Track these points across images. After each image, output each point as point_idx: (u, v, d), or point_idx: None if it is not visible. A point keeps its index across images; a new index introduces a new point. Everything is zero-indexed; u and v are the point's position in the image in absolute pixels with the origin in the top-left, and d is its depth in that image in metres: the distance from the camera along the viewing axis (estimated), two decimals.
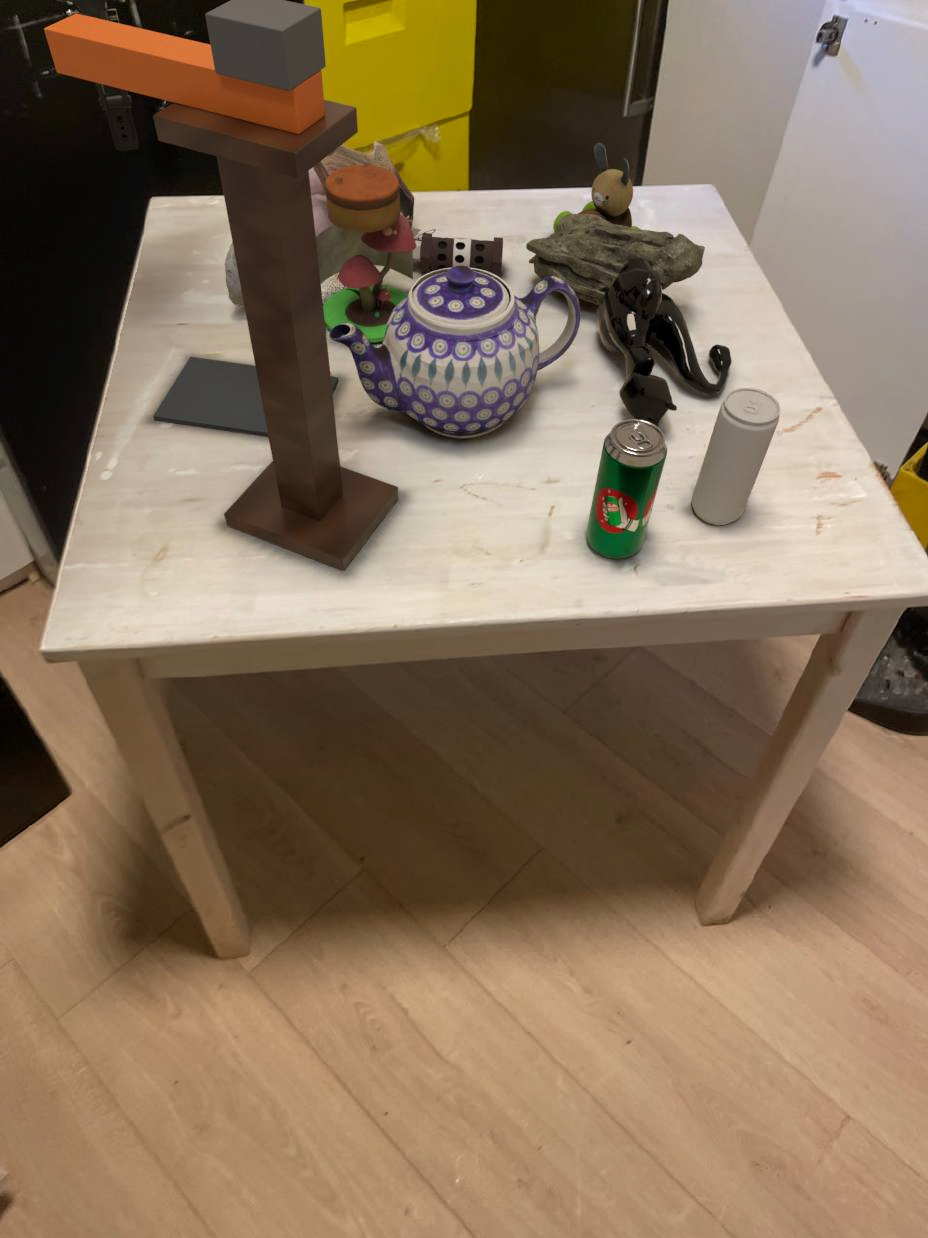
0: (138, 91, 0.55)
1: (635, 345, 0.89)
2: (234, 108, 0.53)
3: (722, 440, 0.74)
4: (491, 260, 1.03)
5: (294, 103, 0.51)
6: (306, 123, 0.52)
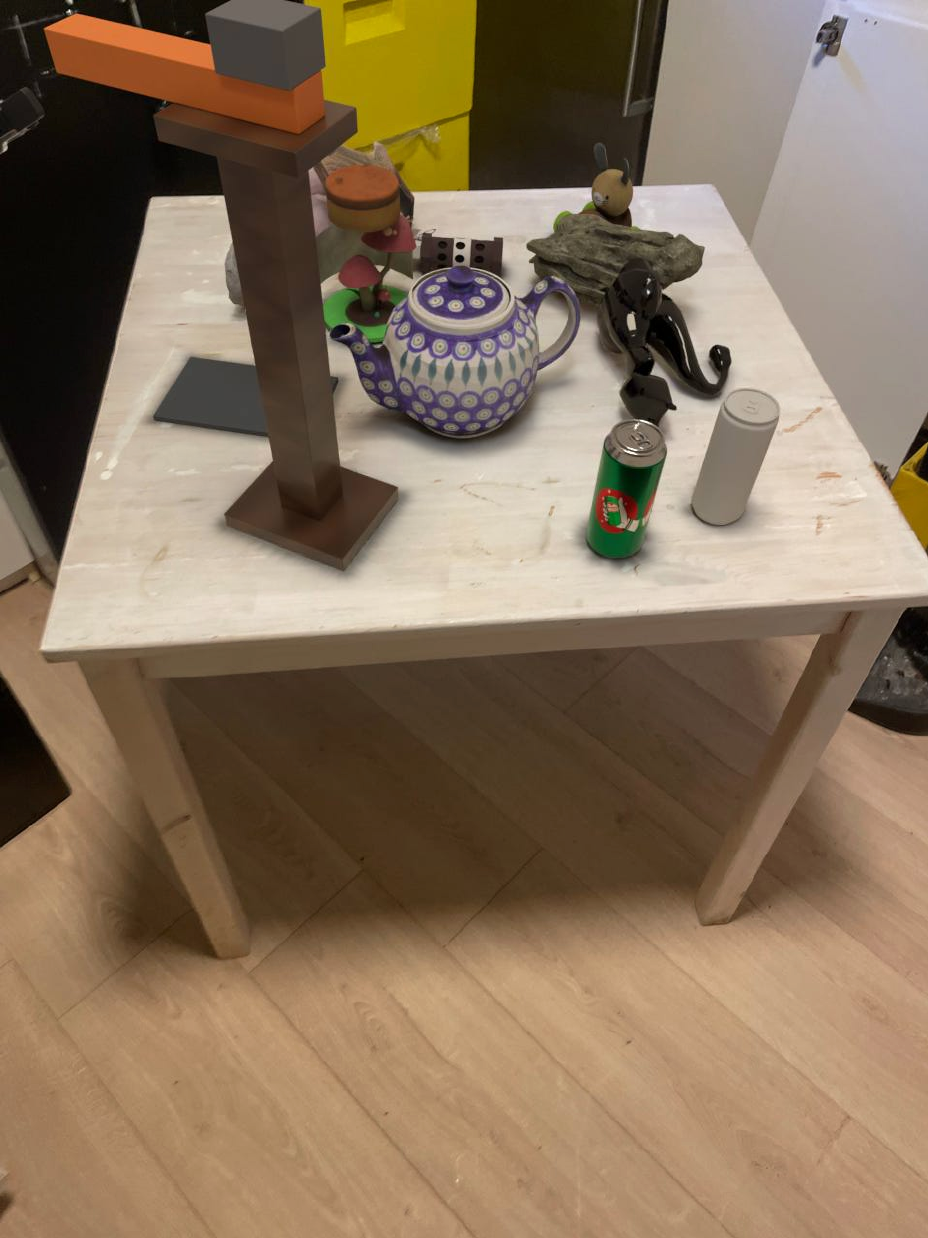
0: (138, 91, 0.55)
1: (635, 345, 0.89)
2: (234, 108, 0.53)
3: (722, 440, 0.74)
4: (491, 260, 1.03)
5: (294, 103, 0.51)
6: (306, 123, 0.52)
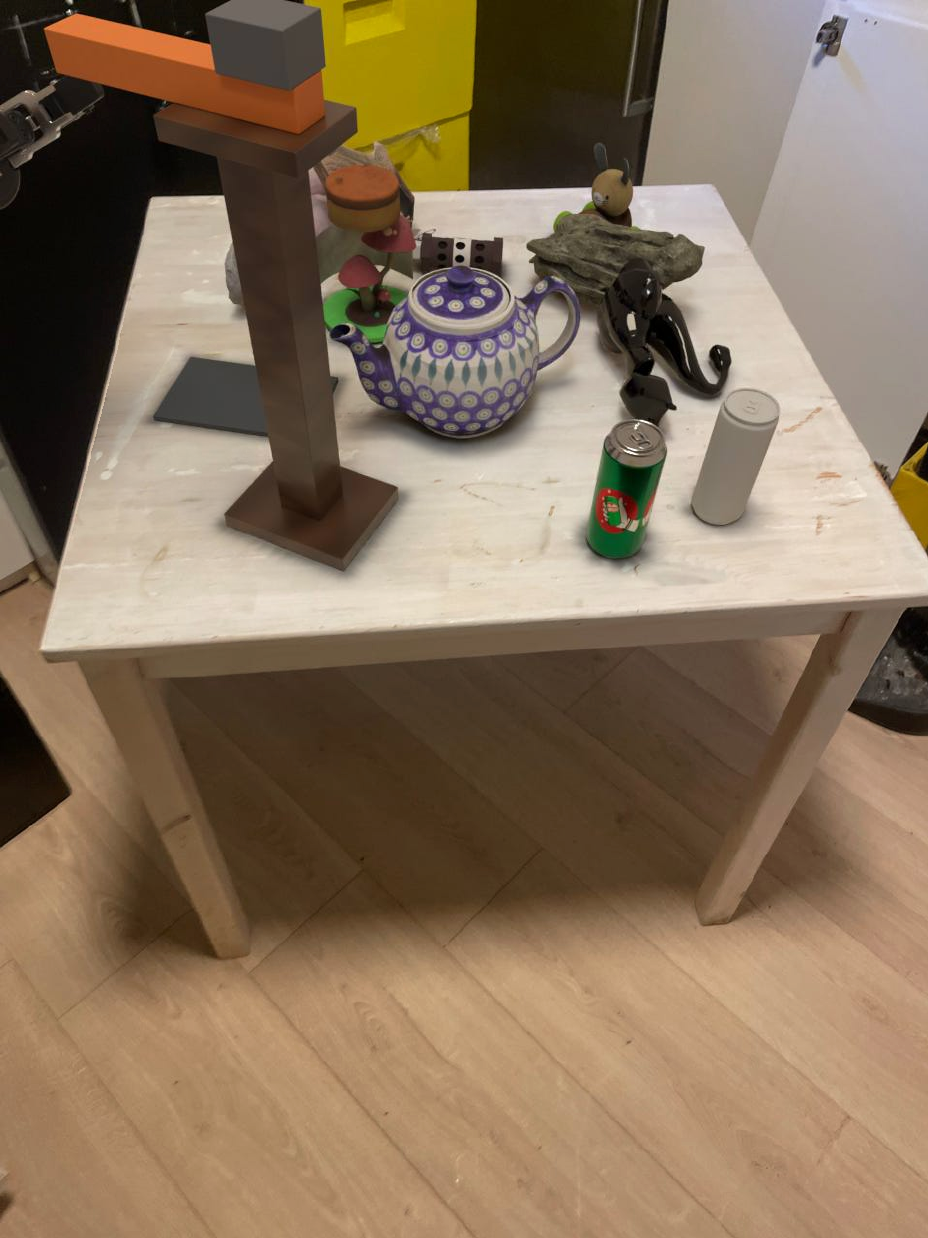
0: (138, 91, 0.55)
1: (635, 345, 0.89)
2: (234, 108, 0.53)
3: (722, 440, 0.74)
4: (491, 260, 1.03)
5: (294, 103, 0.51)
6: (306, 123, 0.52)
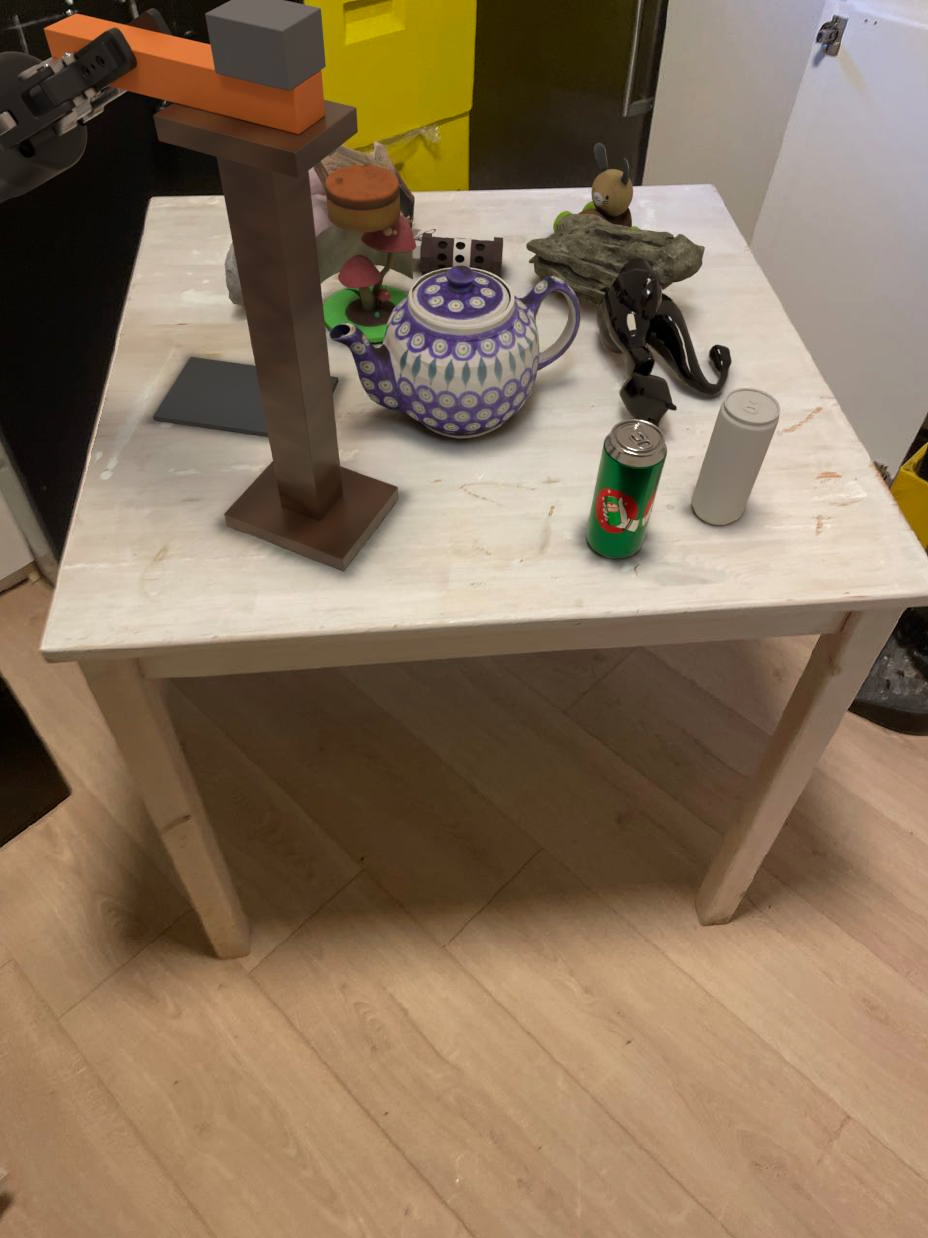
0: (138, 91, 0.55)
1: (635, 345, 0.89)
2: (234, 108, 0.53)
3: (722, 440, 0.74)
4: (491, 260, 1.03)
5: (294, 103, 0.51)
6: (306, 123, 0.52)
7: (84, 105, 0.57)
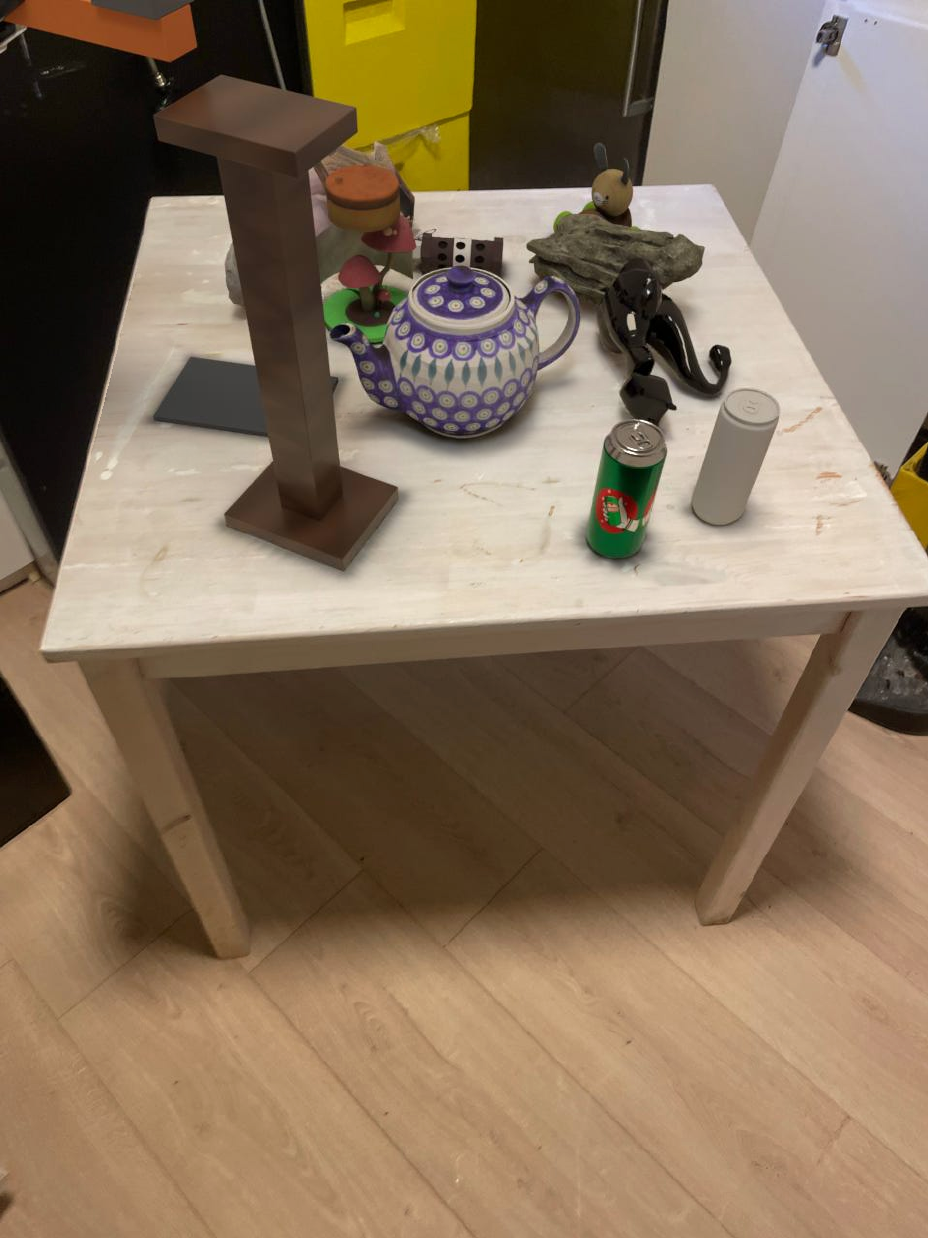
0: (28, 25, 0.60)
1: (635, 345, 0.89)
2: (112, 38, 0.58)
3: (722, 440, 0.74)
4: (491, 260, 1.03)
5: (162, 32, 0.56)
6: (176, 52, 0.57)
7: None
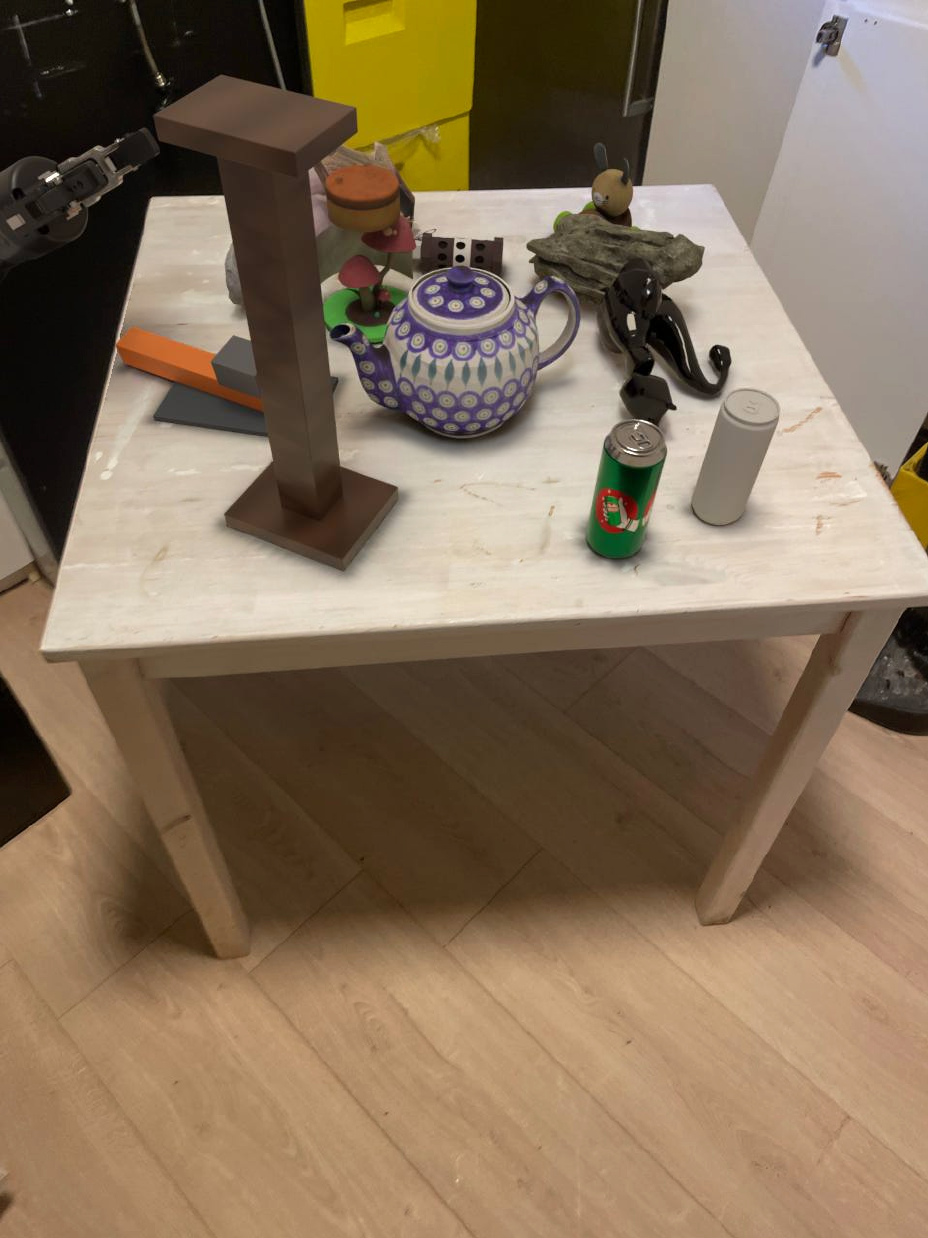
0: (173, 380, 0.91)
1: (635, 345, 0.89)
2: (231, 397, 0.89)
3: (722, 440, 0.74)
4: (491, 260, 1.03)
5: None
6: None
7: None
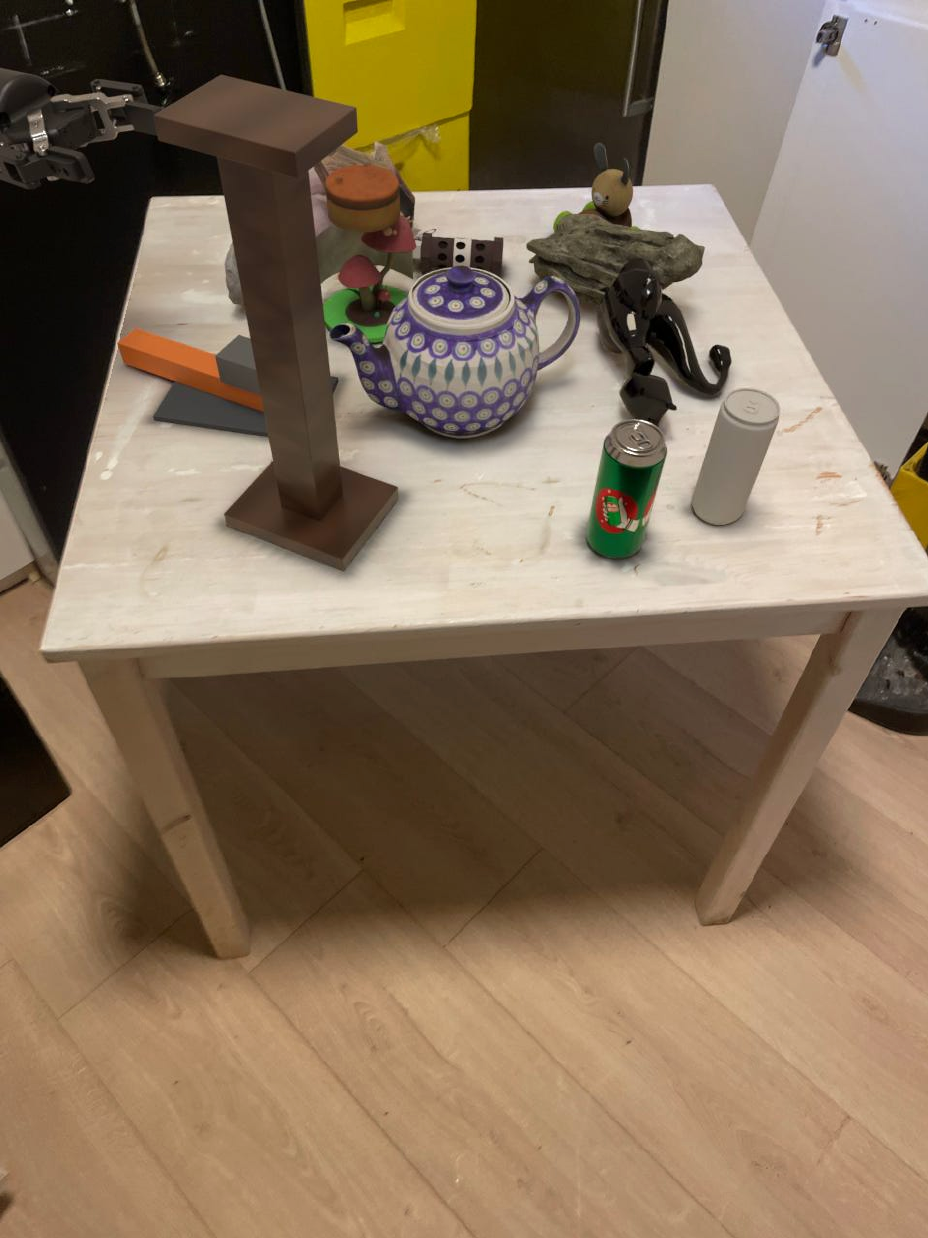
0: (174, 380, 0.91)
1: (635, 345, 0.89)
2: (231, 397, 0.89)
3: (722, 440, 0.74)
4: (491, 260, 1.03)
5: None
6: None
7: None
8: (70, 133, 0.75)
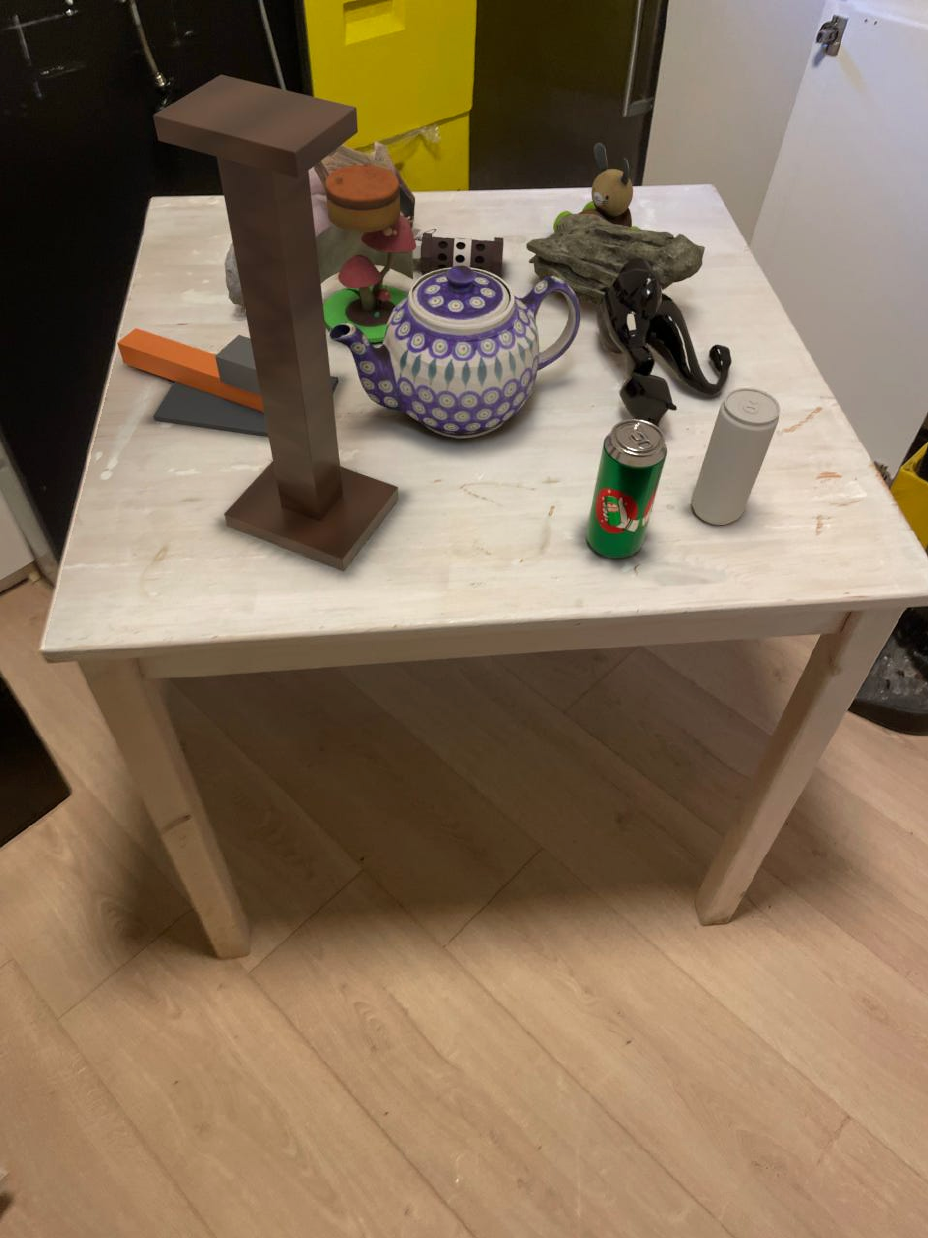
0: (174, 380, 0.91)
1: (635, 345, 0.89)
2: (231, 397, 0.89)
3: (722, 440, 0.74)
4: (491, 260, 1.03)
5: None
6: None
7: None
8: None
